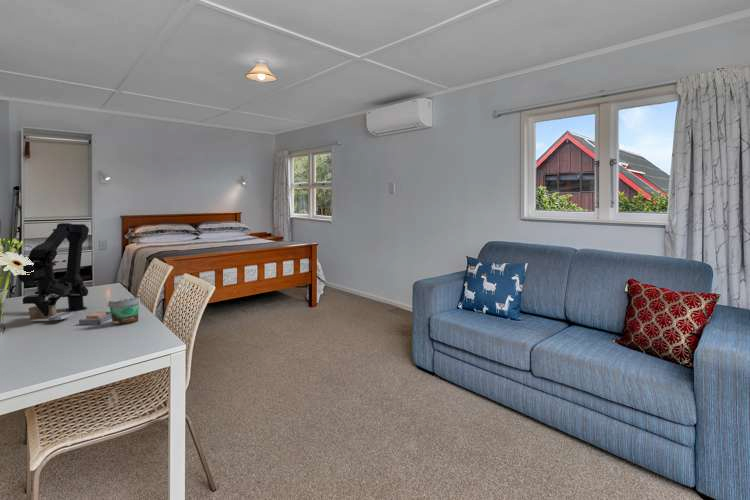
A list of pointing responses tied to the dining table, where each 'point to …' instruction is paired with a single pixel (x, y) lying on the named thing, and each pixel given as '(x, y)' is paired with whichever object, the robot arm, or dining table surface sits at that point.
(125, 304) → the food container
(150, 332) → the dining table surface
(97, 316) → the salmon pink box
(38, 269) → the robot arm
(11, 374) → the dining table surface
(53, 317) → the turner
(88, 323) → the frame
